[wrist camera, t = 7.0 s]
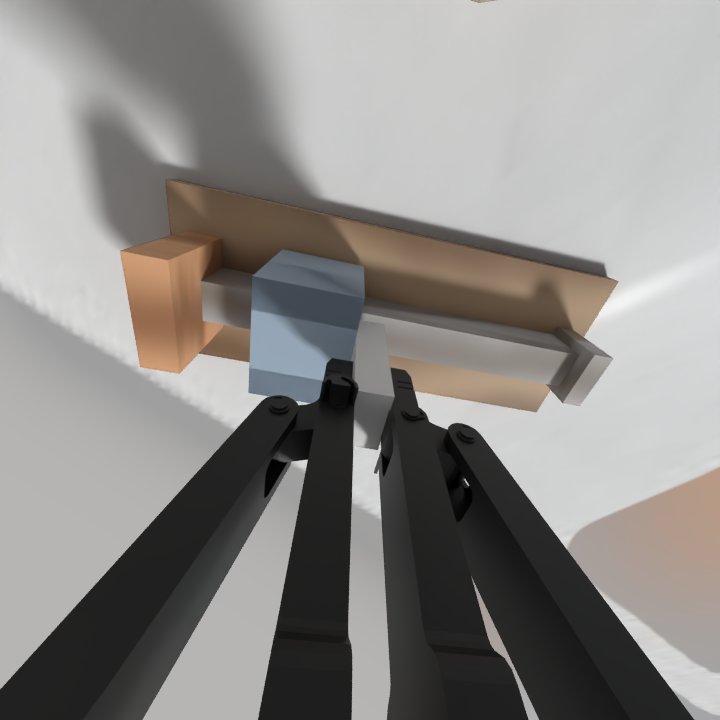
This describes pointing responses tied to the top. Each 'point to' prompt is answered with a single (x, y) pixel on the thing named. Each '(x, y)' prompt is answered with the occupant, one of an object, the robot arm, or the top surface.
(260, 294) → the slider
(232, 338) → the rail board
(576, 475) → the top surface
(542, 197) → the top surface
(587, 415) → the top surface
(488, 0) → the mug
